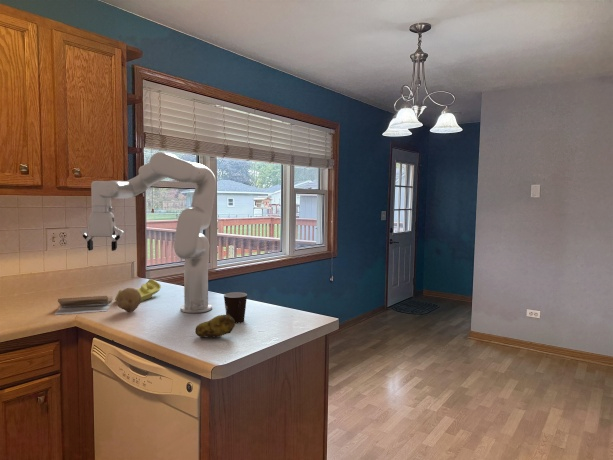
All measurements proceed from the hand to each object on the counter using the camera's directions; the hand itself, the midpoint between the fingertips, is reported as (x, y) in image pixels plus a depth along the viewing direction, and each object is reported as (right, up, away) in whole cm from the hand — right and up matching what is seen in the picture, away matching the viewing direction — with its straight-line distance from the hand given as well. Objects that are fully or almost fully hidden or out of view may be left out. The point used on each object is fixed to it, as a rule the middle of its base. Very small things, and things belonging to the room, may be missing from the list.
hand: (102, 250), depth 183 cm
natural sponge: (+16, -25, -11) cm, 31 cm away
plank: (-5, -22, -5) cm, 23 cm away
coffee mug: (+60, -26, -23) cm, 70 cm away
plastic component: (+12, -23, +12) cm, 29 cm away
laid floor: (-6, -24, -2) cm, 24 cm away
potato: (+57, -27, -41) cm, 76 cm away
